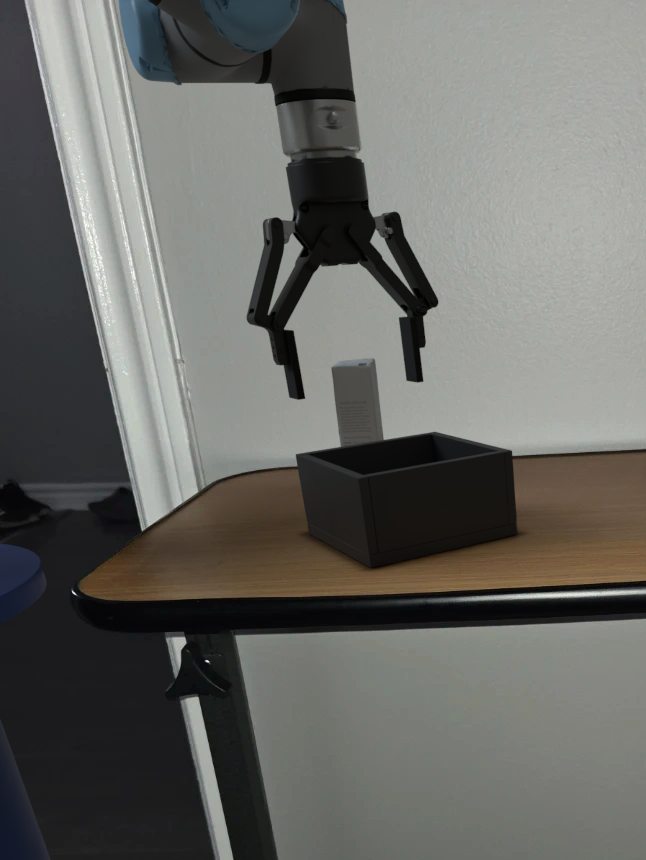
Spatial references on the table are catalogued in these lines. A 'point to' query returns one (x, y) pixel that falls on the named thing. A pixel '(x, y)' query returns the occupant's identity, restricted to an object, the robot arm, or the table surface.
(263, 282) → the robot arm
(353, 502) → the basket
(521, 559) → the table surface
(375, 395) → the cosmetic box
